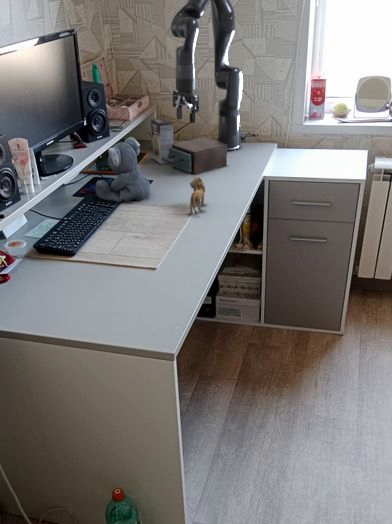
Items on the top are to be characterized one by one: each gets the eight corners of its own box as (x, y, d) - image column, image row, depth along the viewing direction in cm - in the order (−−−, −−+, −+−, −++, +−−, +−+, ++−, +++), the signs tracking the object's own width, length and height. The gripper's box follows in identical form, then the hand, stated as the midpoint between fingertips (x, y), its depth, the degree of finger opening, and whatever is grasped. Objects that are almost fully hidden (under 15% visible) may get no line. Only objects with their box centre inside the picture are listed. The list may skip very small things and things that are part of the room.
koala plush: (121, 185, 215) (116, 131, 204) (161, 192, 208) (158, 137, 196) (93, 199, 203) (86, 143, 192) (134, 207, 195) (129, 150, 184)
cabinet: (194, 174, 224) (194, 151, 219) (172, 165, 234) (172, 144, 229) (226, 165, 233) (226, 144, 228) (204, 158, 242) (204, 137, 237)
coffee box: (152, 158, 243) (150, 119, 233) (166, 156, 245) (164, 117, 236) (160, 164, 236) (158, 123, 227) (174, 162, 238) (173, 122, 229)
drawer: (177, 175, 220) (176, 157, 216) (157, 167, 229) (156, 150, 225) (219, 164, 231) (219, 147, 227) (199, 157, 240) (198, 141, 236)
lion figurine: (190, 200, 199) (189, 175, 194) (205, 200, 199) (204, 175, 194) (189, 216, 187) (188, 189, 182) (205, 216, 187) (205, 189, 182)
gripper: (204, 77, 214) (204, 123, 223) (182, 73, 223) (182, 116, 232) (188, 79, 210) (189, 125, 219) (166, 75, 219) (167, 119, 228)
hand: (185, 121), depth 225 cm, fingers open, 8 cm apart
